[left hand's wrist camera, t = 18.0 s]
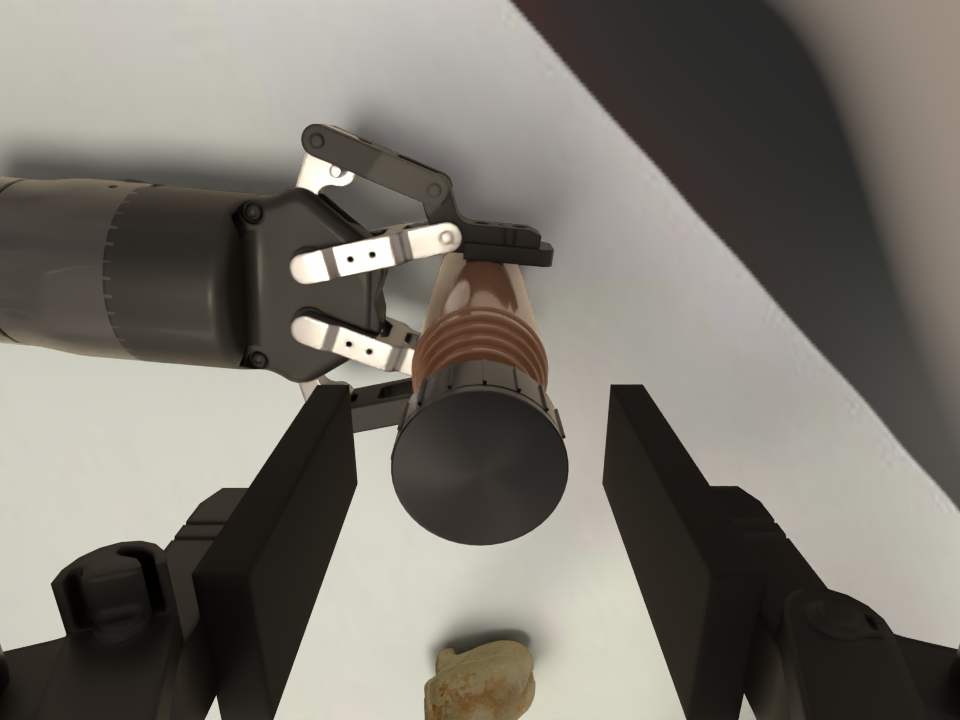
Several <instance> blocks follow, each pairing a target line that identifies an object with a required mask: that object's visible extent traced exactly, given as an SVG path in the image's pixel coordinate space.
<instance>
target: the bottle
mask: <svg viewBox="0 0 960 720" xmlns="http://www.w3.org/2000/svg"><path fill="white" fill-rule="evenodd" d="M483 359H486V361H494V362H500V363H503V364H506V365H510V366H512V367H514V366H517V367H518V369H519V370H521V371H522V372H524V373H526V374H527V375H529V376H530V377H531V378H532V379H534V380H535V381H536V382H537V383H538V384H539V385H540V384H542V385H543V387H544V391H545V392H546V389H547V383H548V360H547V356H546V352H545V349H544V345H543V342H542V339H541V336H540V332H539V329H538V326H537V323H536V320H535V316H534V313H533V310H532V307H531V303H530V300H529V297H528V294H527V291H526V287H525V284H524V281H523V278H522V274H521V271H520V268H519V265H517V264H506V263H495V262H487V261H473V260H463V253H453V252H449V253H446V254H445V256H444V258H443V261H442V263H441V267H440V270H439V273H438V276H437V279H436V283H435V286H434V289H433V292H432V296H431V299H430V302H429V305H428V309H427V312H426V315H425V318H424V321H423V325H422V328H421V331H420V334H419V338H418V341H417V344H416V347H415V351H414V354H413V359H412V367H411V373H412V386H413V391H414V392H415V390H416V389H417V388H418V387H419V386H420V385H421V383H422V380H423V379H424V378H426V379H427V378H428V377H429V376H431V375H433V374H434V373H436V372H437V371H439V370H441V369H443V368H445V367H447V366H450V363H454V364H456V363H460V362H465V361H474V360H483Z"/></svg>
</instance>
